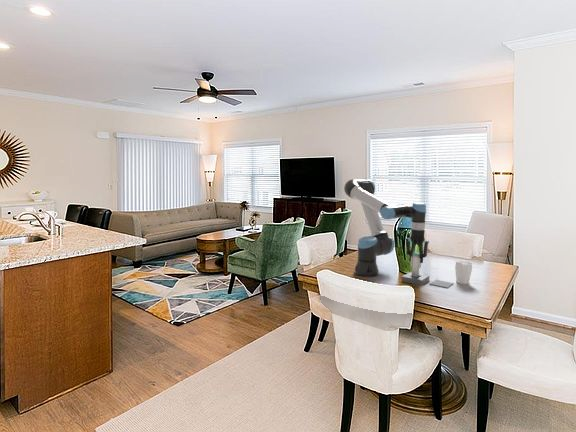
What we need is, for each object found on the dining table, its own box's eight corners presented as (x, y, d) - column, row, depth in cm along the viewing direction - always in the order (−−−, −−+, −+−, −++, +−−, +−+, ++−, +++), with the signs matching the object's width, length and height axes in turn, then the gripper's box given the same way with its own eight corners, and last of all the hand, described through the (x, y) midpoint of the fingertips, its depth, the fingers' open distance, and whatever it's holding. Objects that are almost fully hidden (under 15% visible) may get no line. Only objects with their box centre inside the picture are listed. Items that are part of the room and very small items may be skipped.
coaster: (429, 284, 212) (429, 283, 211) (436, 280, 219) (436, 279, 219) (447, 288, 205) (447, 287, 205) (453, 284, 212) (453, 283, 212)
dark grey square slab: (401, 281, 218) (401, 276, 218) (410, 276, 227) (410, 272, 226) (421, 285, 210) (421, 280, 210) (429, 280, 219) (429, 275, 218)
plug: (409, 275, 218) (410, 253, 216) (413, 274, 221) (414, 251, 219) (417, 277, 215) (418, 254, 213) (420, 276, 218) (422, 253, 216)
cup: (461, 285, 210) (463, 265, 208) (450, 280, 218) (452, 261, 217) (474, 284, 212) (476, 264, 211) (463, 279, 221) (464, 260, 219)
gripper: (401, 228, 217) (399, 265, 220) (429, 231, 206) (427, 271, 209) (406, 226, 222) (405, 263, 226) (434, 230, 211) (432, 268, 214)
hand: (415, 267), depth 217 cm, fingers closed on plug, 4 cm apart
